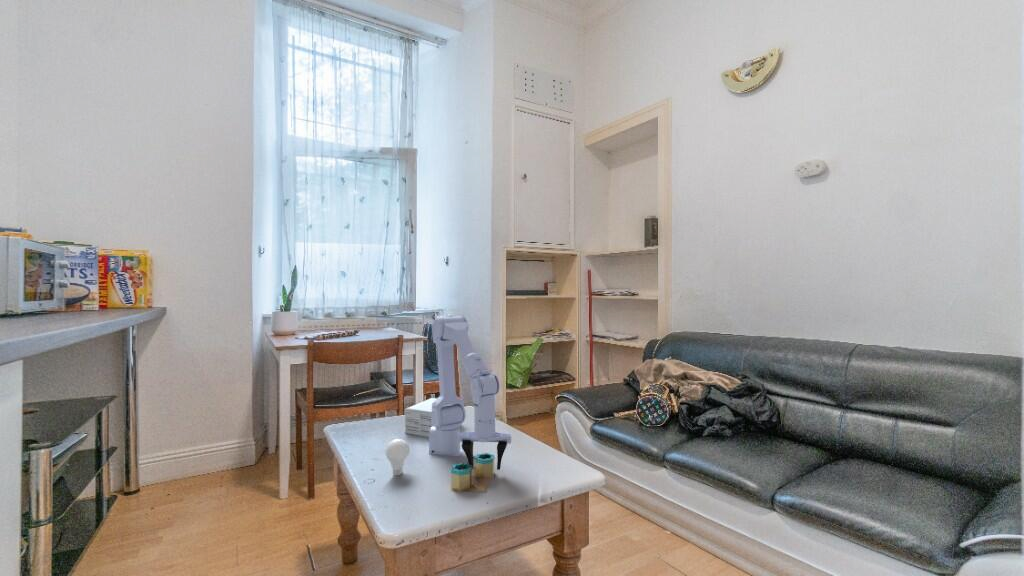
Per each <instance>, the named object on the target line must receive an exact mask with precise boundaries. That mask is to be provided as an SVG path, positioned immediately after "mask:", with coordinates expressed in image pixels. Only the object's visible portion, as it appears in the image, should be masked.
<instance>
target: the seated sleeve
mask: <svg viewBox="0 0 1024 576" xmlns="http://www.w3.org/2000/svg"><path fill="white" fill-rule="evenodd" d="M472 470H473V469H472V465H469V463H465V462H461V463H455V464H452V466H451V468H450V471H451V472H450V482H451V484H450V485H451V487H450V488H451V490H452V489H454V490H457V491H456V492H459V491H463V490H468V489H470V487H471V485H472Z"/></svg>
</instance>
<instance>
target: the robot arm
mask: <svg viewBox="0 0 1024 576" xmlns="http://www.w3.org/2000/svg"><path fill="white" fill-rule="evenodd" d="M431 328H432V329H431V331H432V340H433V341H432V342H433V343H434V344H435V345H436V350H437V352H436V353H437V365H438V366H437V367H438V369H437V370H438V384H439V386H438V387H439V396H438V397H437V398H436V400H435V401H434V402H433V403H432V412H431V421H432V424H433V426H432V427H431V429H430V433H429V437H428V455H429V456H431V455H432V456H456V457H457V456H461V455H462V453H463V452H464V454H465V457H466V460H467V462H468V463H467V464H469V465H472V467H473V466H474V458H473V456H474V442H477V443H478V442H479V443H497V444H496V454H497V457H496V459H497V462H496V468H497V470H498V471H499V470H501V467H502V466H501V465H502V459H503V455H504V454H505V450H506V449H507V446H508V444H509V445H510V444H511V443H512V434H511V433H502V432H496V395H498V393H499V391H500V381H499V379H498V376H497V375H496V373H494V372H492V371H491V370H489V369H488V367H487V365H486V362H485V361H484V359H483V357H482V356H481V354H479V353H476V351H475V349H474V346H473V344H472V342H471V339H470V336H469V335H468V334H469V323H468V320H467V318H466V316H464V315H460V316H446V317H445V316H442V317H440V316H437V317H435V318H434V320H433V323H432V324H431ZM454 345H456V347H457V349H458V351H459V352H460V354H461V356H462V357H463V362H462V365H463V368H464V369H465V372H466V374H467V376H468V378H469V380H470V385H469V387H470V393H471V397H472V403H473V405H474V416H473V417H474V421H473V422H474V431H470V432H461V427H462V426H463V423H464V422H465V420H466V417H467V416H466V409H465V406H464V400H463V399H462V398H461V397H459V396H458V395H457V393H456V377H455V359H454V358H455V357H454ZM453 404H454V405H453ZM447 405H449V406H447Z"/></svg>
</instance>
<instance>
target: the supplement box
mask: <svg viewBox="0 0 1024 576" xmlns="http://www.w3.org/2000/svg"><path fill="white" fill-rule="evenodd" d="M436 399H437V398H435V397H430V398H428V399H426V400H423V401H421V402H419V403H416V404H413V405H411V406H408V407H406V408H405V409H404V418H405V419H404V422H405V423H404V433H405V434H409V435H415V436H420V437H427V438H429V433H430V429H431V427H432V426H433V424H432V421H431V412H432V403H433V402H434V401H435V400H436ZM453 405H454V404H453ZM447 406H449V405H447Z"/></svg>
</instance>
